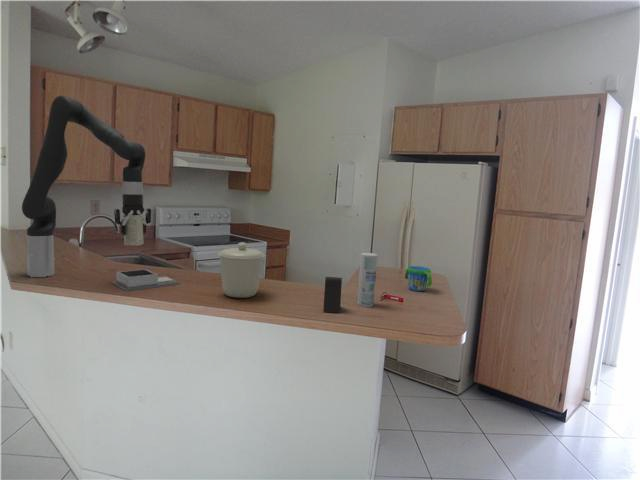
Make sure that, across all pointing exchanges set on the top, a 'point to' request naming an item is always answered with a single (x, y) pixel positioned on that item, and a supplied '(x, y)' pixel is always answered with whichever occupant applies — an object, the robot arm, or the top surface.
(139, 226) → the skincare box
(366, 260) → the spray can
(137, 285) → the board
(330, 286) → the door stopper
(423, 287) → the snack cup
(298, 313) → the top surface
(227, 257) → the canister
